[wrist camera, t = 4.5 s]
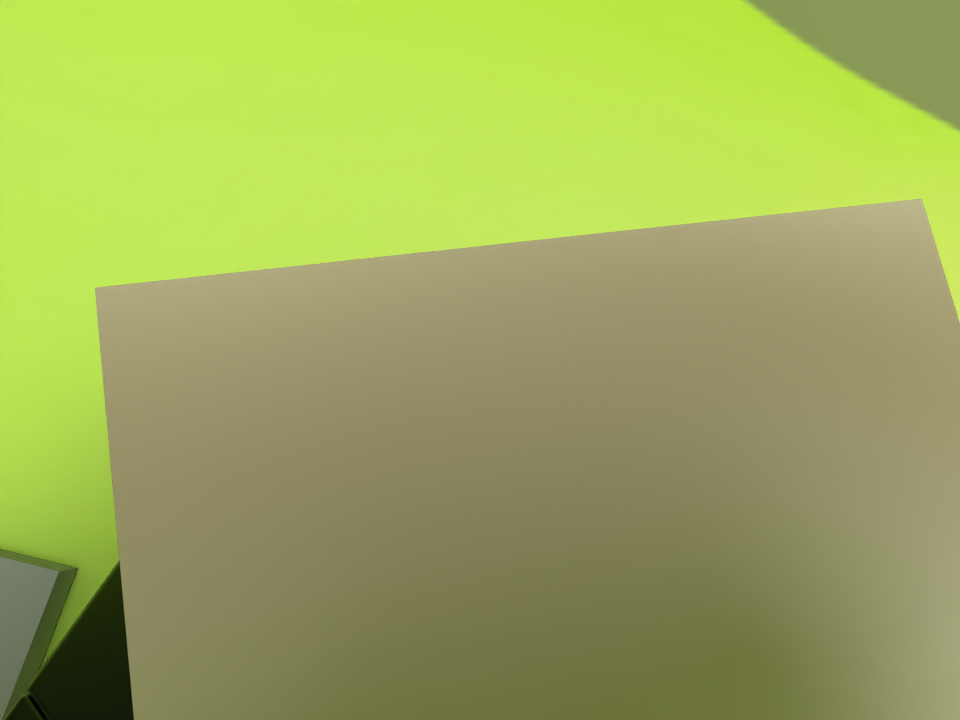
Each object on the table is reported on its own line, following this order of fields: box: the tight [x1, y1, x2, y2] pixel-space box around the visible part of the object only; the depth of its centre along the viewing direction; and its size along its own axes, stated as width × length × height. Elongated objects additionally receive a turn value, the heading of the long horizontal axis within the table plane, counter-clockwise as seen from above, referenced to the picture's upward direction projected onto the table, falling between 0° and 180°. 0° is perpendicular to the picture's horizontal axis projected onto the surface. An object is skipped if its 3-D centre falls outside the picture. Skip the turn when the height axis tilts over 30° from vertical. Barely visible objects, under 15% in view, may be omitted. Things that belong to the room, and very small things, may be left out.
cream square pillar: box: [95, 199, 960, 720], centre depth 10 cm, size 4×5×12 cm
